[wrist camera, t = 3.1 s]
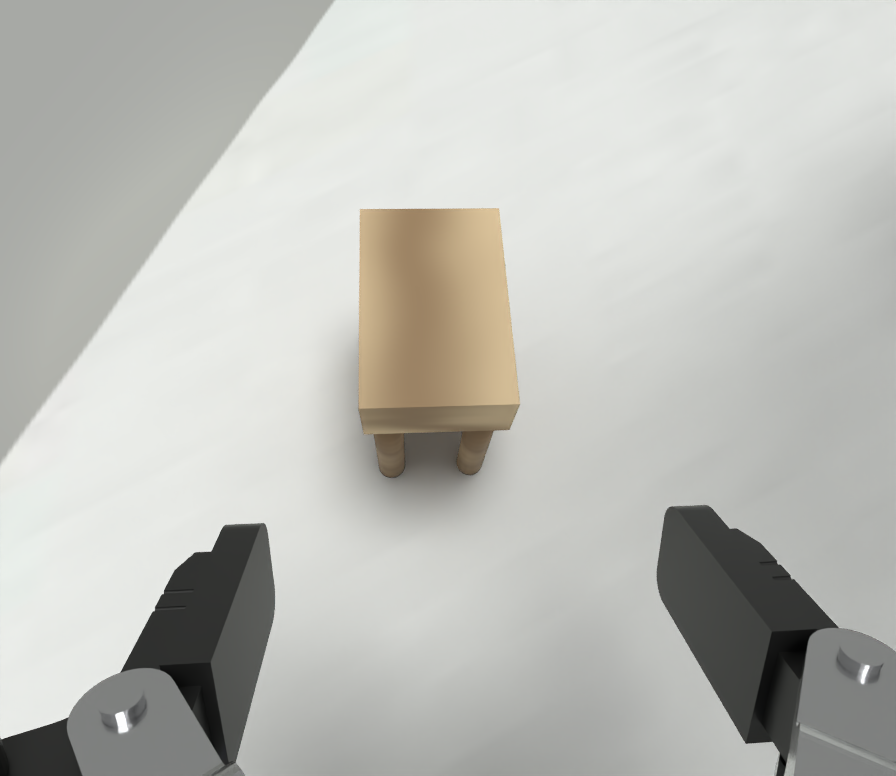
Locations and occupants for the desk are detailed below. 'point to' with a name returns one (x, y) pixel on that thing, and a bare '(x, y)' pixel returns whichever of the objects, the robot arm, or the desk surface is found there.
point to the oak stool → (434, 331)
